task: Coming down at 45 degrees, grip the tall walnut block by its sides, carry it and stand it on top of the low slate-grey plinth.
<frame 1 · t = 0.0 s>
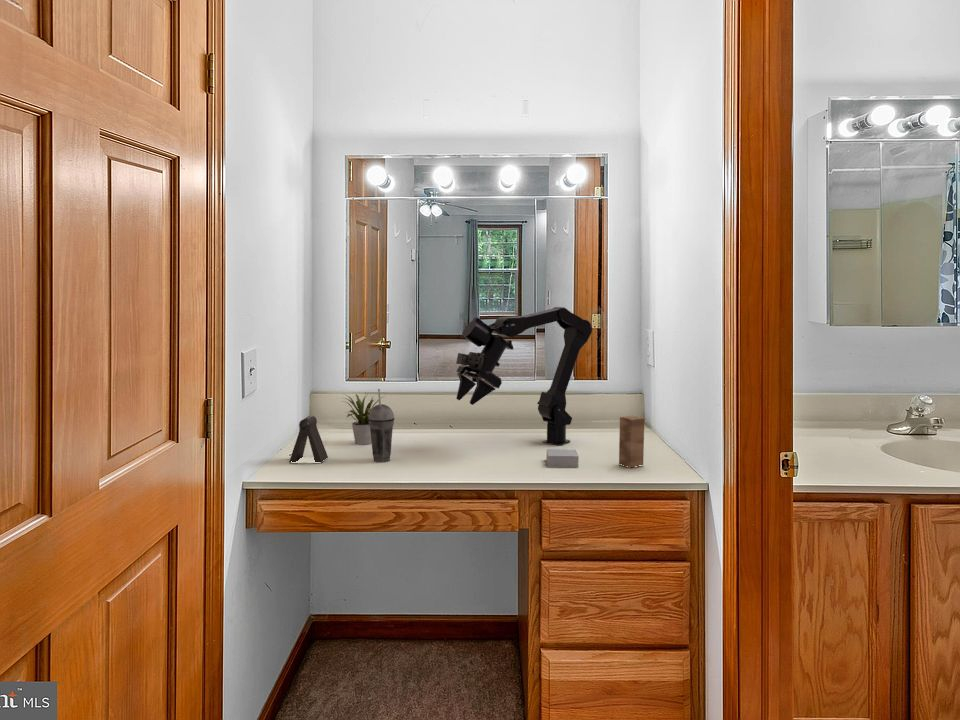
hand: (464, 401, 194), 15 cm above the table, tool tilted 35°, fingers open, 9 cm apart
house plant: (359, 443, 209), on the table
phone stand: (308, 461, 186), on the table
walnut block: (631, 465, 181), on the table
beverage cup: (381, 461, 187), on the table
plinth: (562, 463, 183), on the table
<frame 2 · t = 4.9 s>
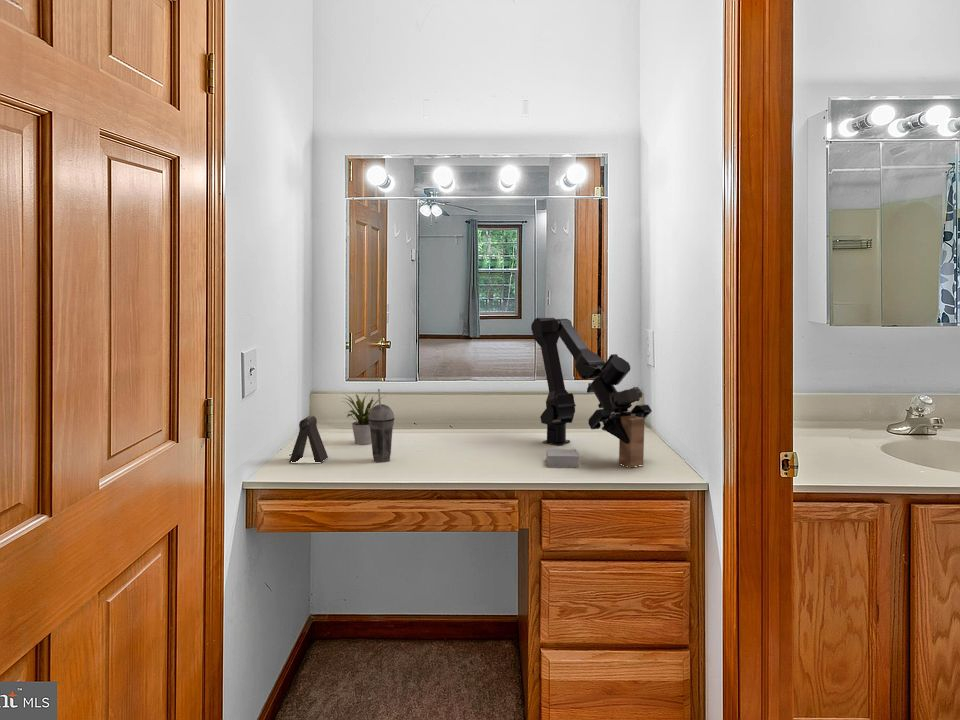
hand: (635, 442, 180), 7 cm above the table, tool tilted 45°, fingers closed on walnut block, 4 cm apart
walnut block: (631, 465, 181), on the table, touching gripper
everything else where it was.
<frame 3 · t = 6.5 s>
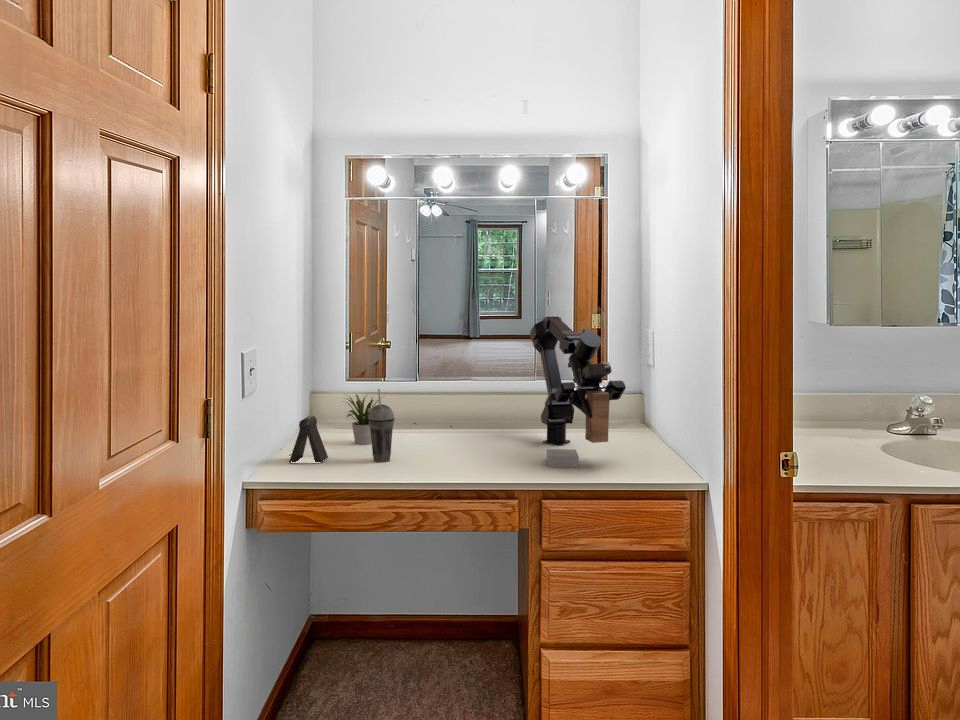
hand: (599, 416, 179), 13 cm above the table, tool tilted 45°, fingers closed on walnut block, 4 cm apart
walnut block: (596, 440, 181), point 7 cm above the table, touching gripper
everything else where it was.
when the fingers open (10 cm above the table, at t = 8.2 s): walnut block stays where it is, resting on plinth.
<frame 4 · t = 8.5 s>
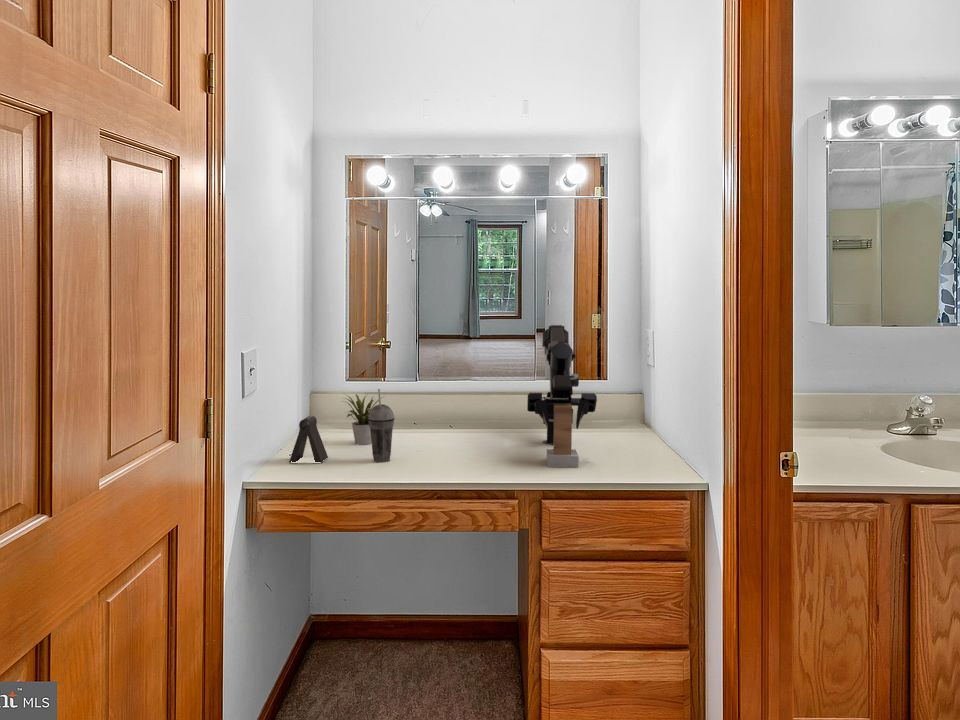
hand: (562, 427, 181), 10 cm above the table, tool tilted 45°, fingers open, 7 cm apart
walnut block: (562, 452, 183), point 3 cm above the table, touching plinth
everything else where it was.
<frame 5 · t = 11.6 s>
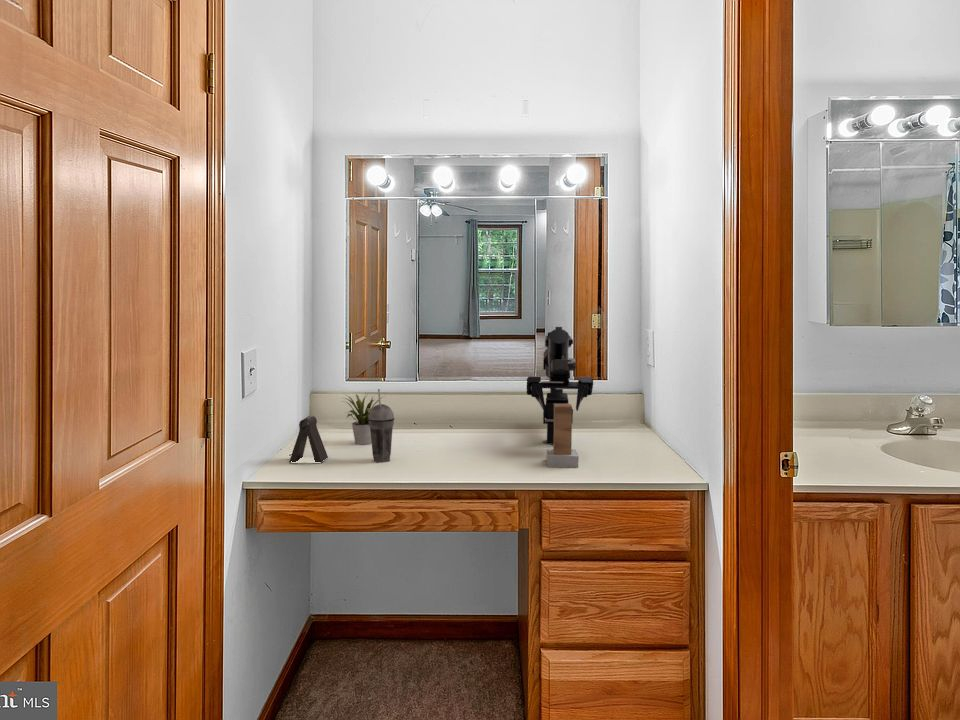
hand: (560, 409, 189), 14 cm above the table, tool tilted 45°, fingers open, 9 cm apart
nothing on the table moved.
at the end: walnut block 0.0 cm off-centre on the plinth, point 3.0 cm above the plinth's base; walnut block tilted 0°; the gripper is holding nothing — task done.
